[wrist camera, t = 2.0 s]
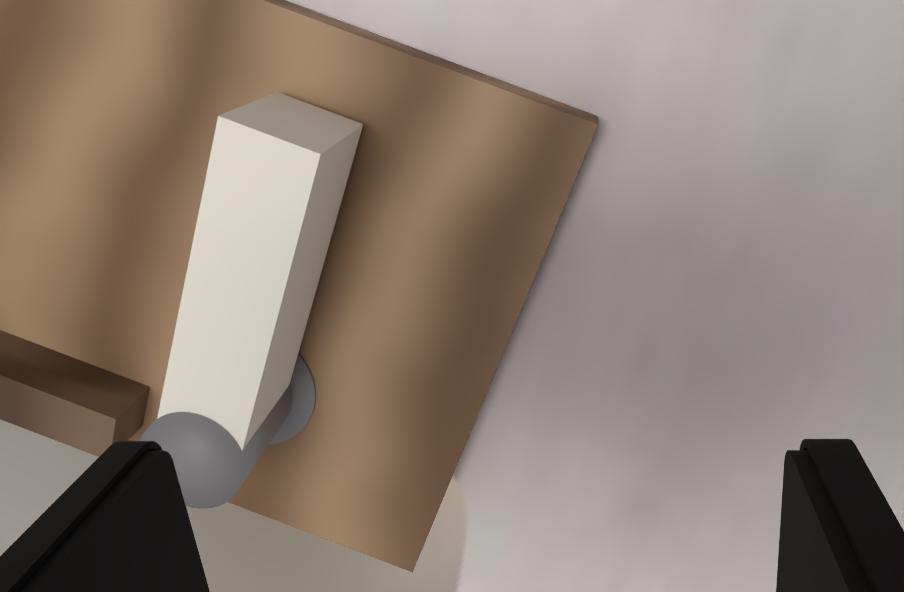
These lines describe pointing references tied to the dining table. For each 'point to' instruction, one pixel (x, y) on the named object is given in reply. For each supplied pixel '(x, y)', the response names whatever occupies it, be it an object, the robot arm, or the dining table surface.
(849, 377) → the dining table surface
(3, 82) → the board
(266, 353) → the handle
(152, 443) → the robot arm
